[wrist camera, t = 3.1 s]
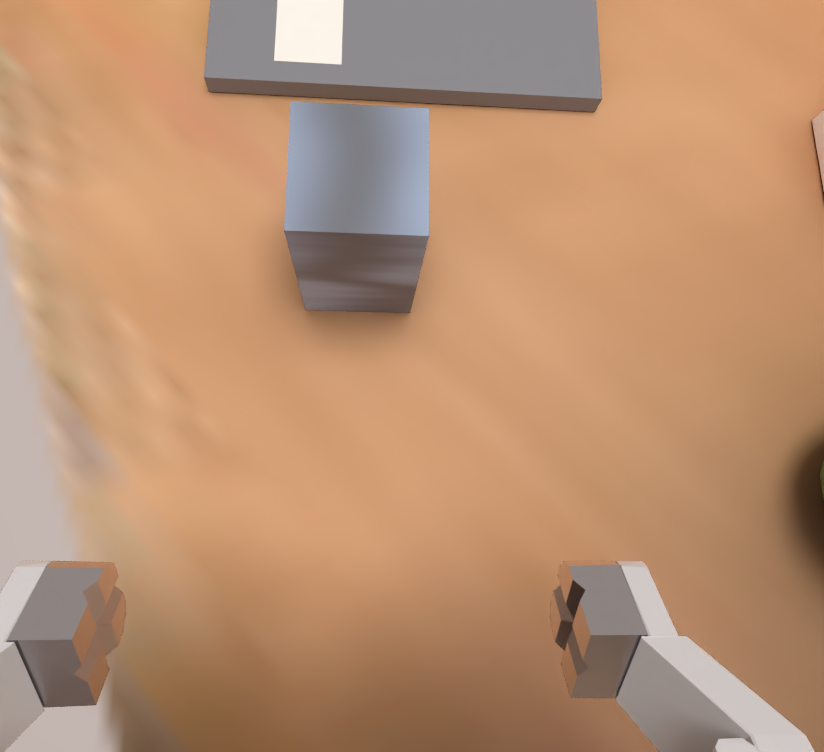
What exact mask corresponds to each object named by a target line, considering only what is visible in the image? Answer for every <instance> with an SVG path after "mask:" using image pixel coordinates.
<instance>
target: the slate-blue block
mask: <svg viewBox="0 0 824 752" xmlns="http://www.w3.org/2000/svg"><path fill="white" fill-rule="evenodd" d="M284 231H285V235H286V239H287V243H288V246H289V250H290V254H291V258H292V261H293V265H294V269H295V273H296V276H297V280H298V284H299V288H300V291H301V295H302V299H303V302H304V306H305V310H327V311H361V312H395V313H410V311H411V307H412V303H413V298H414V294H415V290H416V286H417V282H418V278H419V274H420V270H421V266H422V262H423V258H424V254H425V250H426V245H427V241H428V237H429V108H410V107H391V106H372V105H353V104H334V103H316V102H297V101H291V106H290V126H289V146H288V165H287V185H286V205H285V225H284Z"/></svg>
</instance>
